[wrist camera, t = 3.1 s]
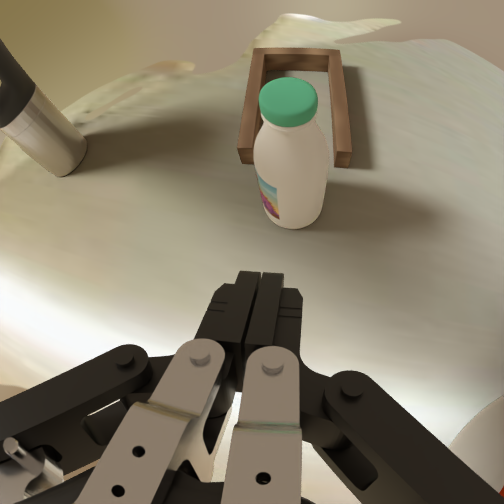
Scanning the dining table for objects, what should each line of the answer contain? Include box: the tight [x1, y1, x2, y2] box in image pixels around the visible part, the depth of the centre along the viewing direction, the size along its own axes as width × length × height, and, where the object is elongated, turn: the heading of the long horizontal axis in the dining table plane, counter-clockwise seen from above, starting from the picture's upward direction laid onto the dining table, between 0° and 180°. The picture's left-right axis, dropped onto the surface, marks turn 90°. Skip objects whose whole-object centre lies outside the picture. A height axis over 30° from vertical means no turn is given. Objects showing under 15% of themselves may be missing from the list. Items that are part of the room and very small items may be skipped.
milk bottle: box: [254, 77, 329, 229], centre depth 31 cm, size 8×8×20 cm
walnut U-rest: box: [237, 48, 352, 168], centre depth 43 cm, size 15×23×4 cm, turn 174°
